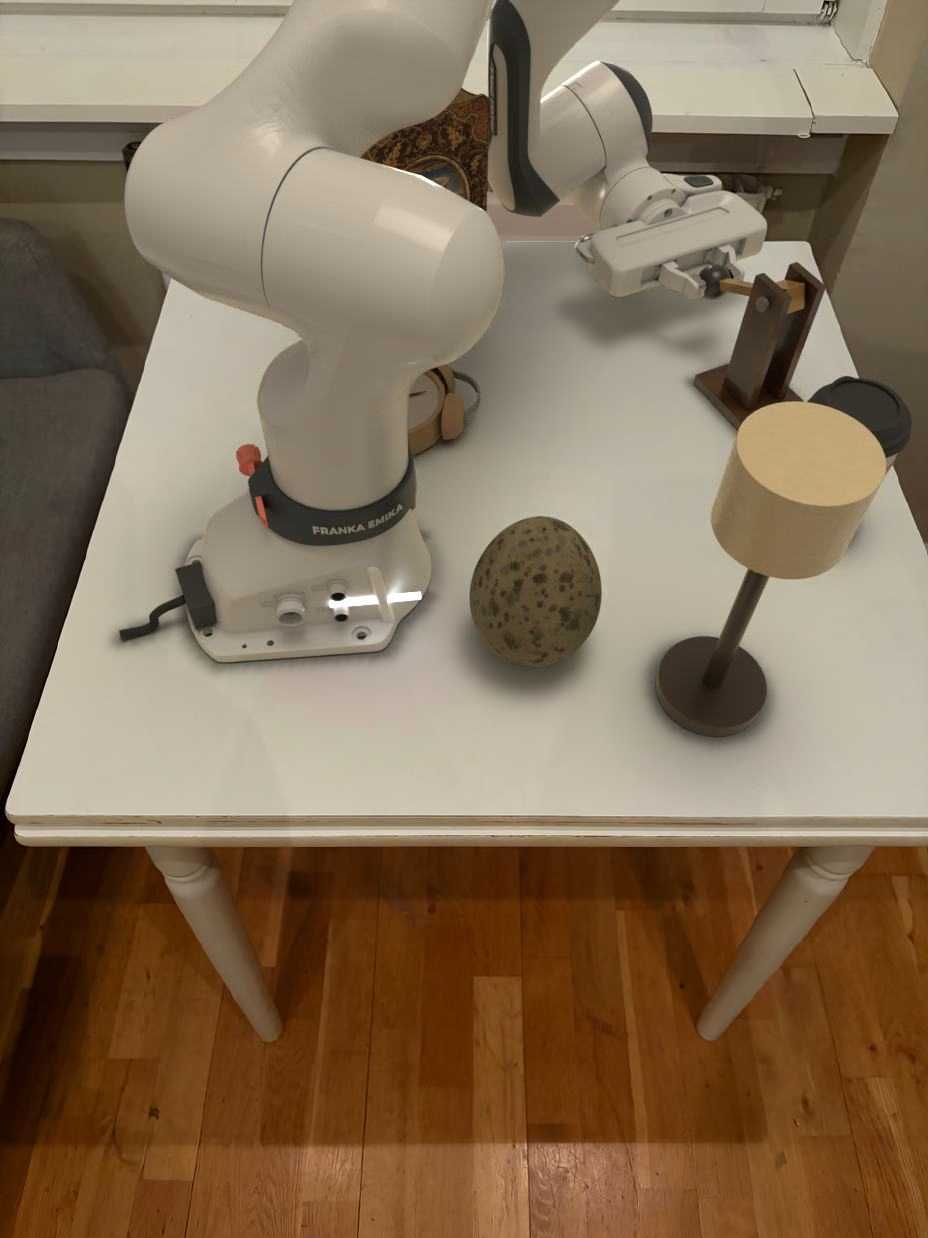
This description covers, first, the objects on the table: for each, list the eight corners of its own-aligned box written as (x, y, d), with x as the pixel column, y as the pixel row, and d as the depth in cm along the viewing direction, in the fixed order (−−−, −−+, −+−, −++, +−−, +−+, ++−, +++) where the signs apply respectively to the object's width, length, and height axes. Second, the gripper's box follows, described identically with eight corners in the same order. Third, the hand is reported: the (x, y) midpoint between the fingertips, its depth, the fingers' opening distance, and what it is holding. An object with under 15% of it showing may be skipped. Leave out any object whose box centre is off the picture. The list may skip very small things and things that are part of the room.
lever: (690, 301, 102) (688, 266, 100) (717, 292, 103) (716, 258, 101) (780, 322, 90) (780, 284, 88) (810, 312, 91) (810, 274, 89)
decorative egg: (557, 714, 79) (578, 607, 67) (445, 660, 82) (445, 548, 70) (610, 622, 84) (638, 508, 72) (503, 575, 87) (512, 458, 75)
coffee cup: (878, 528, 91) (945, 410, 79) (812, 569, 88) (871, 452, 76) (809, 471, 95) (862, 351, 83) (744, 508, 92) (789, 389, 80)
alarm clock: (324, 374, 99) (461, 332, 99) (337, 408, 103) (468, 368, 103) (343, 449, 92) (489, 404, 92) (356, 482, 96) (496, 439, 97)
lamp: (681, 748, 77) (779, 519, 54) (638, 659, 82) (711, 415, 59) (780, 721, 79) (916, 488, 56) (732, 636, 84) (839, 389, 61)
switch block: (693, 383, 103) (725, 262, 91) (752, 362, 105) (791, 242, 93) (748, 441, 98) (790, 321, 86) (809, 418, 100) (858, 298, 88)
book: (358, 364, 104) (335, 138, 84) (335, 336, 107) (308, 111, 87) (483, 316, 109) (491, 92, 89) (458, 291, 112) (460, 68, 92)
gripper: (570, 215, 101) (640, 286, 94) (726, 171, 107) (804, 235, 100) (564, 267, 106) (631, 338, 99) (714, 222, 112) (787, 287, 105)
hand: (719, 286), depth 99 cm, fingers closed on lever, 3 cm apart
